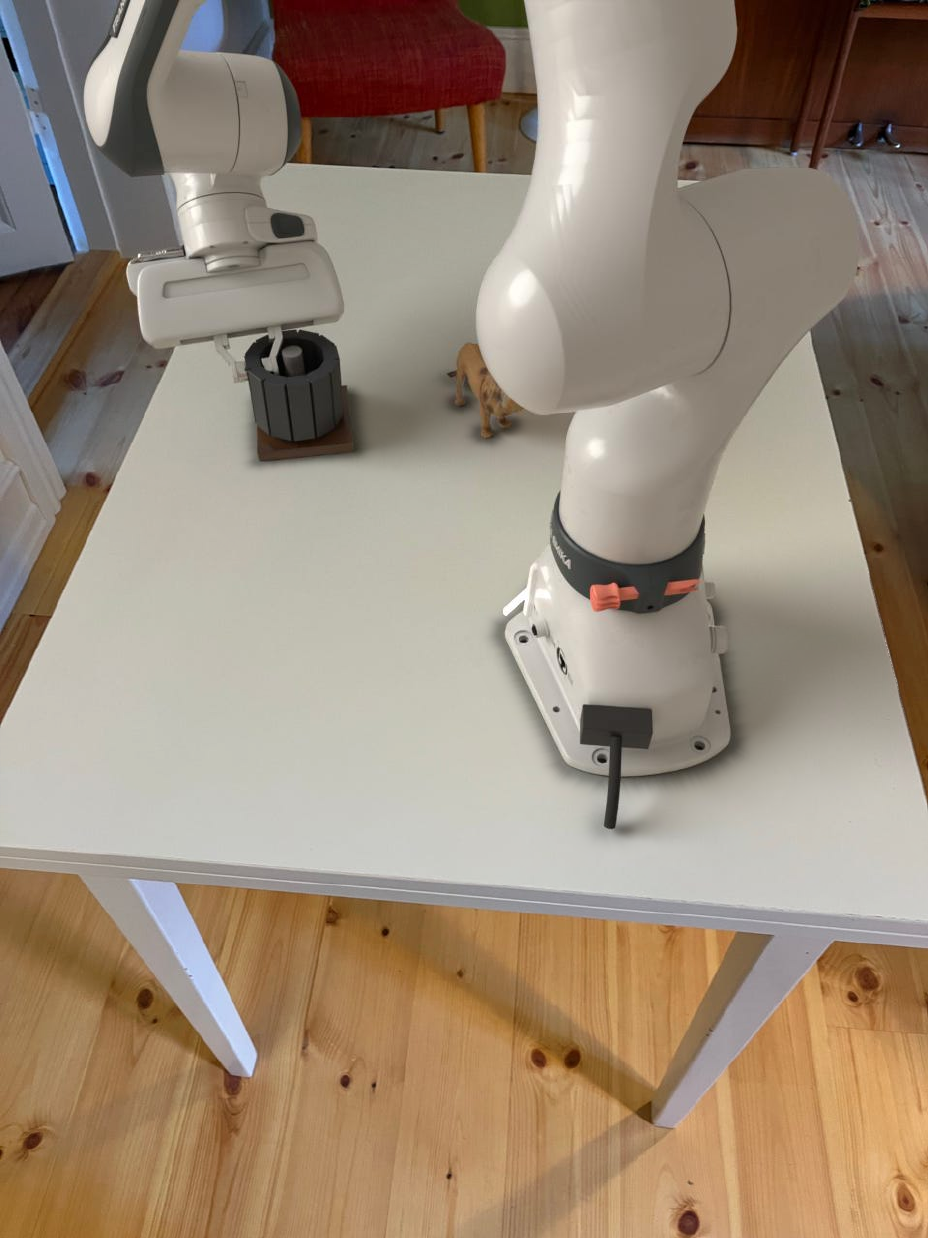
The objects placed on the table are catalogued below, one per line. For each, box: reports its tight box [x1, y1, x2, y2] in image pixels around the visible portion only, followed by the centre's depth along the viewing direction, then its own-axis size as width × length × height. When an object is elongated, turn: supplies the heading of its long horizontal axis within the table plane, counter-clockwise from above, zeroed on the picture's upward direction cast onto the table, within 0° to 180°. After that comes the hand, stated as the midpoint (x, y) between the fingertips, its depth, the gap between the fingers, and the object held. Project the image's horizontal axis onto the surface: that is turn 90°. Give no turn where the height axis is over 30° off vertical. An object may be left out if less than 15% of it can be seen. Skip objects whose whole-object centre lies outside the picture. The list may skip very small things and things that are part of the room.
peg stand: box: [256, 346, 355, 462], centre depth 97 cm, size 10×10×10 cm
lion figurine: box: [446, 341, 524, 439], centre depth 99 cm, size 15×5×9 cm, turn 34°
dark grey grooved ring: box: [243, 328, 344, 441], centre depth 97 cm, size 9×9×7 cm
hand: (257, 378), depth 94 cm, fingers closed on dark grey grooved ring
